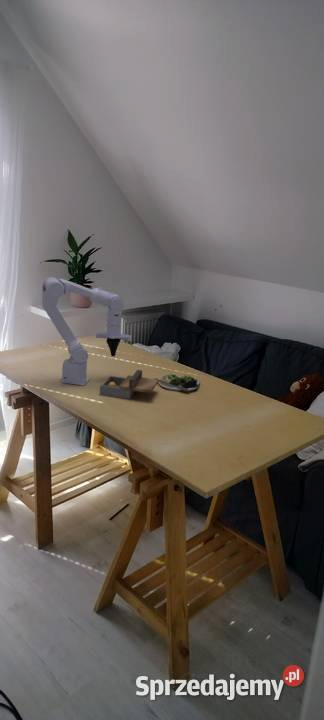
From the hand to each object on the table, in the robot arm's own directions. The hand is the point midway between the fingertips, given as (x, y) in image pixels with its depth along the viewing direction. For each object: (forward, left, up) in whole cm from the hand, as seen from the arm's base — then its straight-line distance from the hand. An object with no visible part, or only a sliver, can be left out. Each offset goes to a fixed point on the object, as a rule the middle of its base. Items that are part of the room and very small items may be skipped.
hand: (113, 355), depth 213 cm
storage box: (+7, -12, -10) cm, 17 cm away
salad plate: (+29, +5, -11) cm, 31 cm away
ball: (+4, -12, -8) cm, 15 cm away
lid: (+15, -12, -6) cm, 20 cm away
